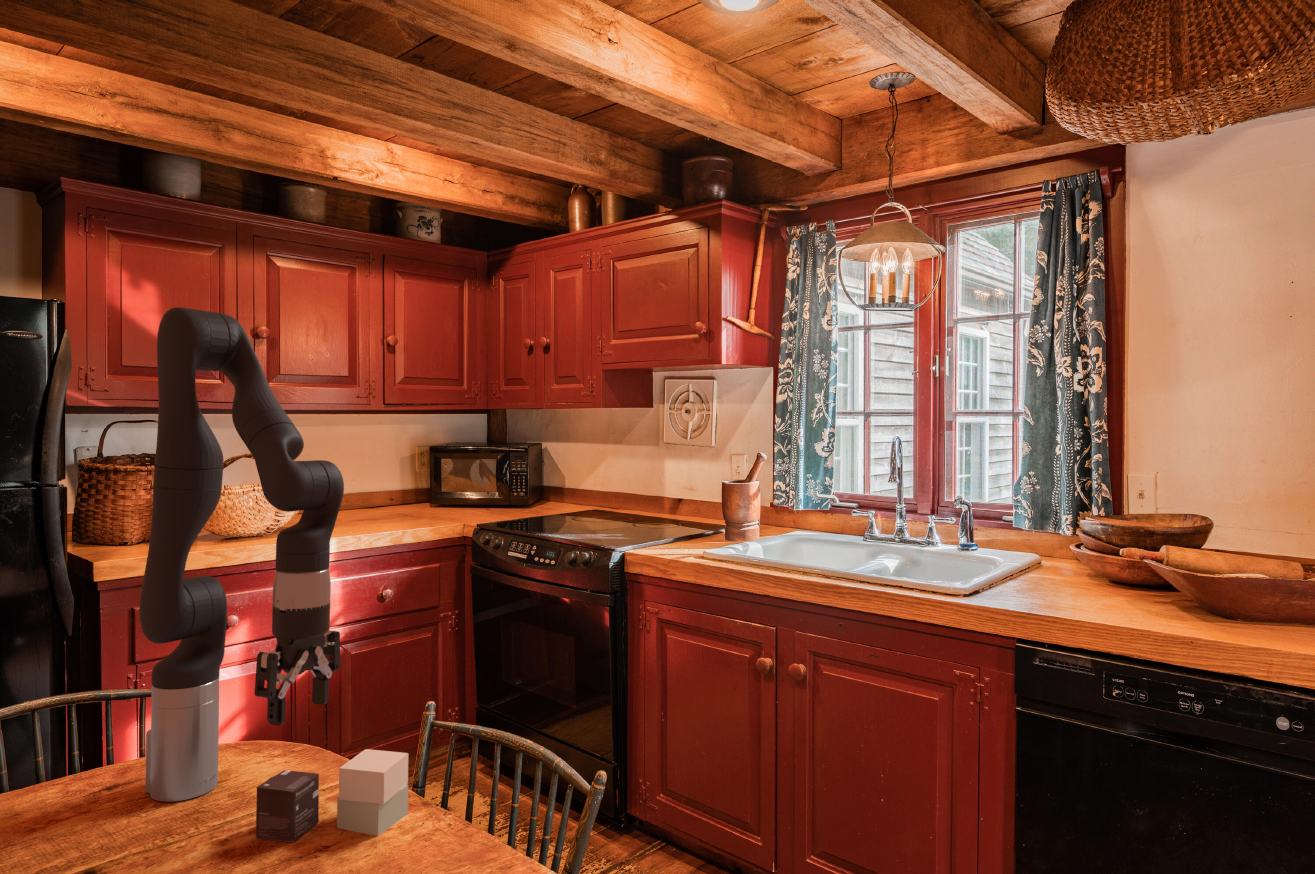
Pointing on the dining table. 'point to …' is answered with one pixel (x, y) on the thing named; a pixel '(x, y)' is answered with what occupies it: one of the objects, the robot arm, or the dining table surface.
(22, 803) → the dining table surface
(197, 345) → the robot arm
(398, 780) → the tower top
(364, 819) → the tower base
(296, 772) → the box
